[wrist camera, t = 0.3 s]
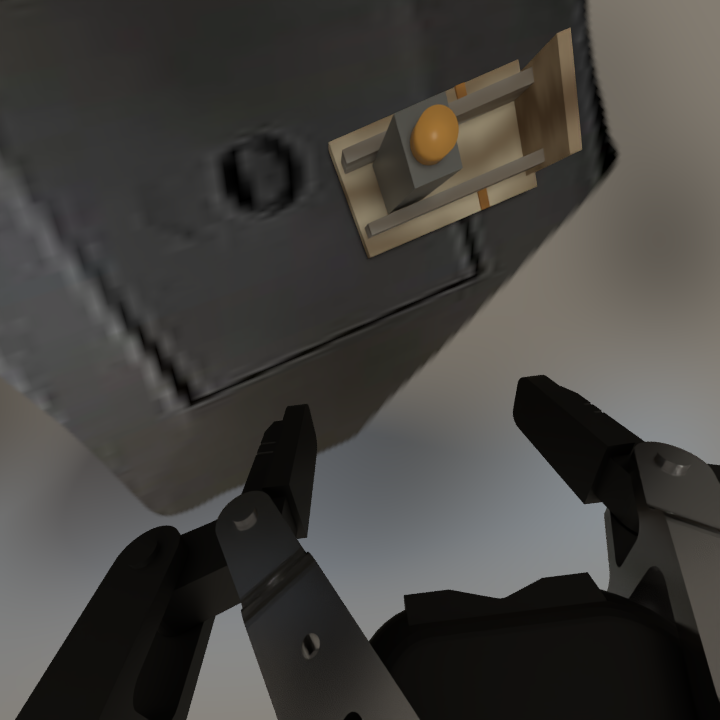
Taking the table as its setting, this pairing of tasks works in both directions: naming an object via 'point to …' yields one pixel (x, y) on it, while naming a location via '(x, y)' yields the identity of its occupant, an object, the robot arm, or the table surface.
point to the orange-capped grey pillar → (417, 152)
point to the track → (473, 147)
